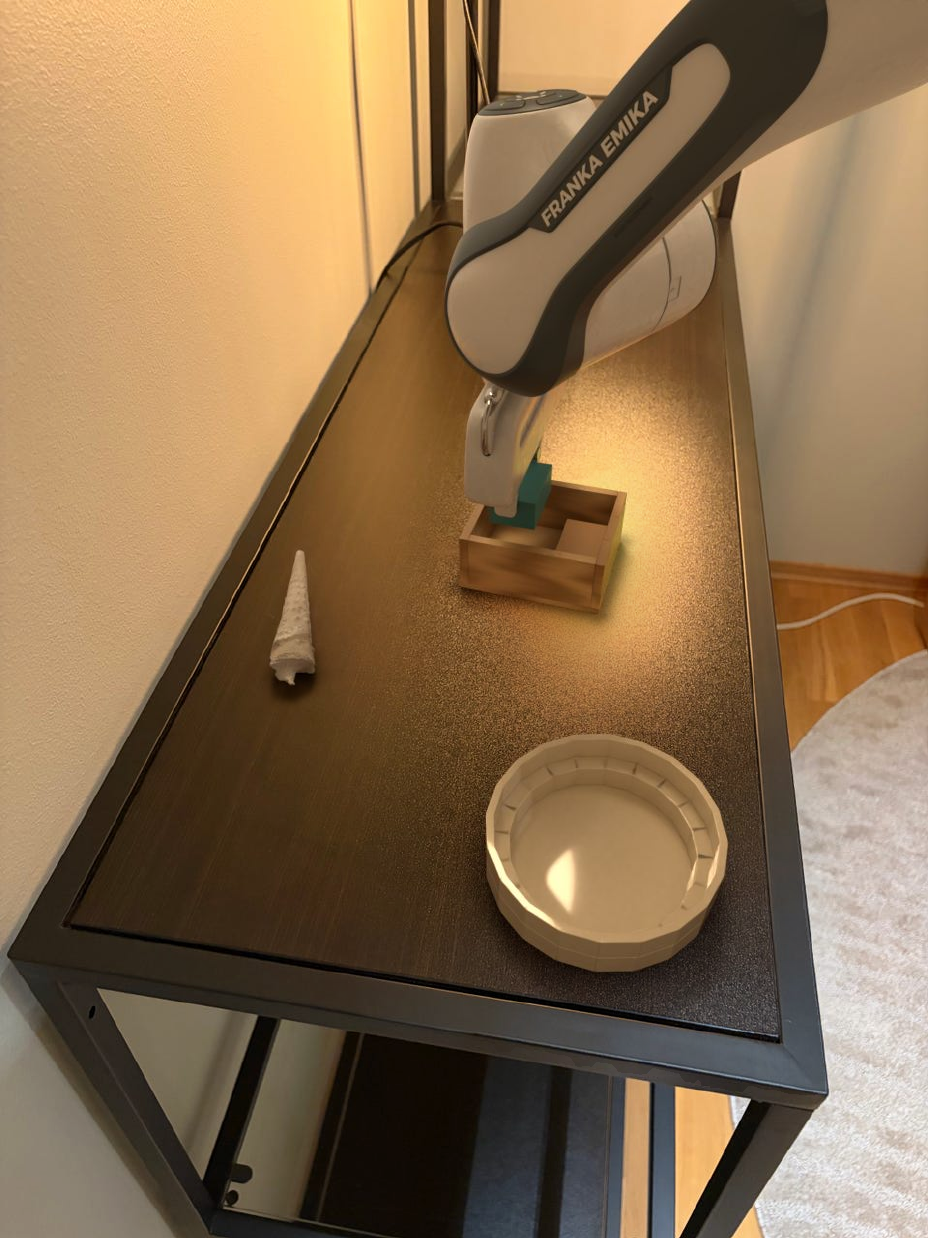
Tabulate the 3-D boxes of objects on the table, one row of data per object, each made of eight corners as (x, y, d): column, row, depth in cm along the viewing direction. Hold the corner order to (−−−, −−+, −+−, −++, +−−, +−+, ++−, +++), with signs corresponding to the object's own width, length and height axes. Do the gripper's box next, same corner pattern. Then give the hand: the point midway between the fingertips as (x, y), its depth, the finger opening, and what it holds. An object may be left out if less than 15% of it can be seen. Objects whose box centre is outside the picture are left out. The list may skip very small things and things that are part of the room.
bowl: (724, 801, 61) (737, 763, 58) (699, 1008, 51) (713, 975, 48) (518, 751, 65) (520, 713, 62) (457, 936, 55) (455, 901, 51)
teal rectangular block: (551, 490, 78) (552, 464, 76) (534, 530, 74) (535, 503, 72) (508, 483, 79) (508, 457, 77) (489, 522, 75) (489, 496, 73)
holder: (620, 540, 82) (627, 492, 78) (598, 614, 75) (604, 565, 71) (493, 517, 85) (493, 469, 81) (460, 587, 78) (458, 538, 74)
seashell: (303, 702, 70) (321, 682, 68) (257, 688, 69) (274, 667, 66) (324, 572, 78) (341, 549, 76) (284, 557, 77) (300, 533, 74)
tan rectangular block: (607, 549, 80) (610, 526, 78) (594, 591, 76) (597, 567, 74) (565, 542, 81) (567, 518, 79) (550, 583, 77) (551, 559, 75)
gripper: (529, 411, 58) (523, 569, 67) (591, 285, 71) (578, 431, 81) (439, 398, 59) (445, 554, 69) (517, 277, 73) (513, 421, 83)
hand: (518, 486), depth 75 cm, fingers closed on teal rectangular block, 6 cm apart
